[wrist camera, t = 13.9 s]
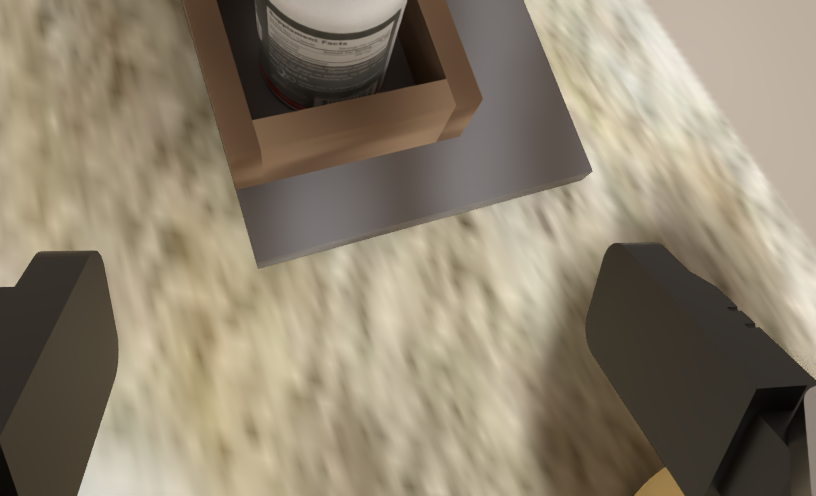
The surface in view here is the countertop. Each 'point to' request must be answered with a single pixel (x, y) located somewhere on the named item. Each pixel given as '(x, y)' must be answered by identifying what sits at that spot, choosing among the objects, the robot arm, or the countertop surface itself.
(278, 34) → the pill bottle
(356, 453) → the countertop surface
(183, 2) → the socket dock
